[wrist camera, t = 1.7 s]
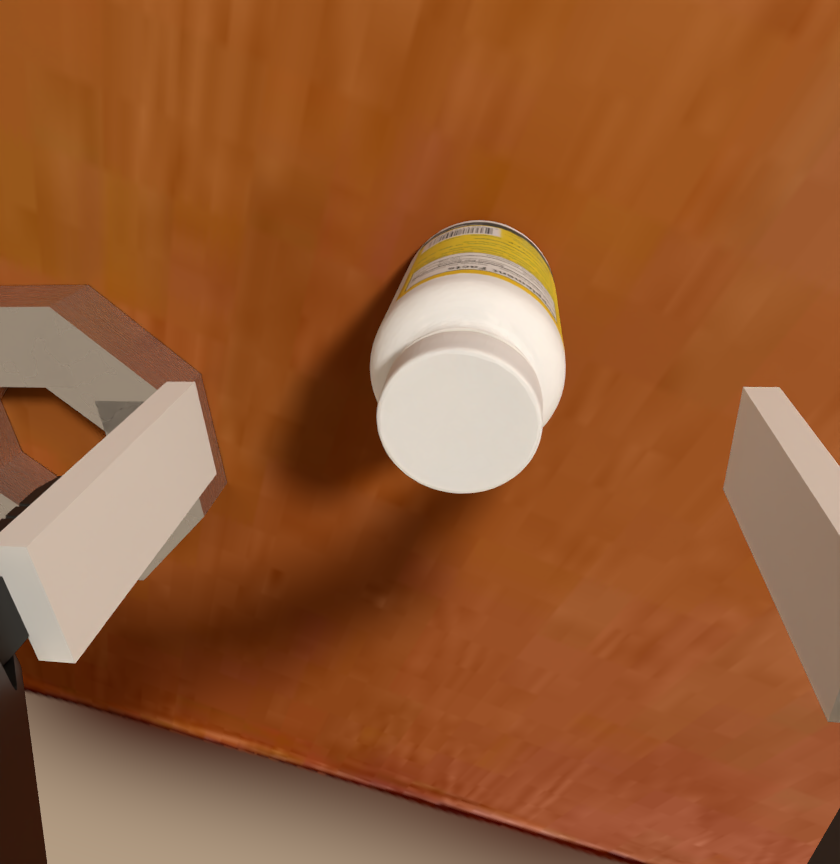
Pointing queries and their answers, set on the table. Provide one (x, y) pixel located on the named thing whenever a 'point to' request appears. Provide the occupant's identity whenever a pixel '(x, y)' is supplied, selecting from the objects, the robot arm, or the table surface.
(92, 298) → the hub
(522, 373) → the supplement bottle
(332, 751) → the table surface
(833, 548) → the robot arm
